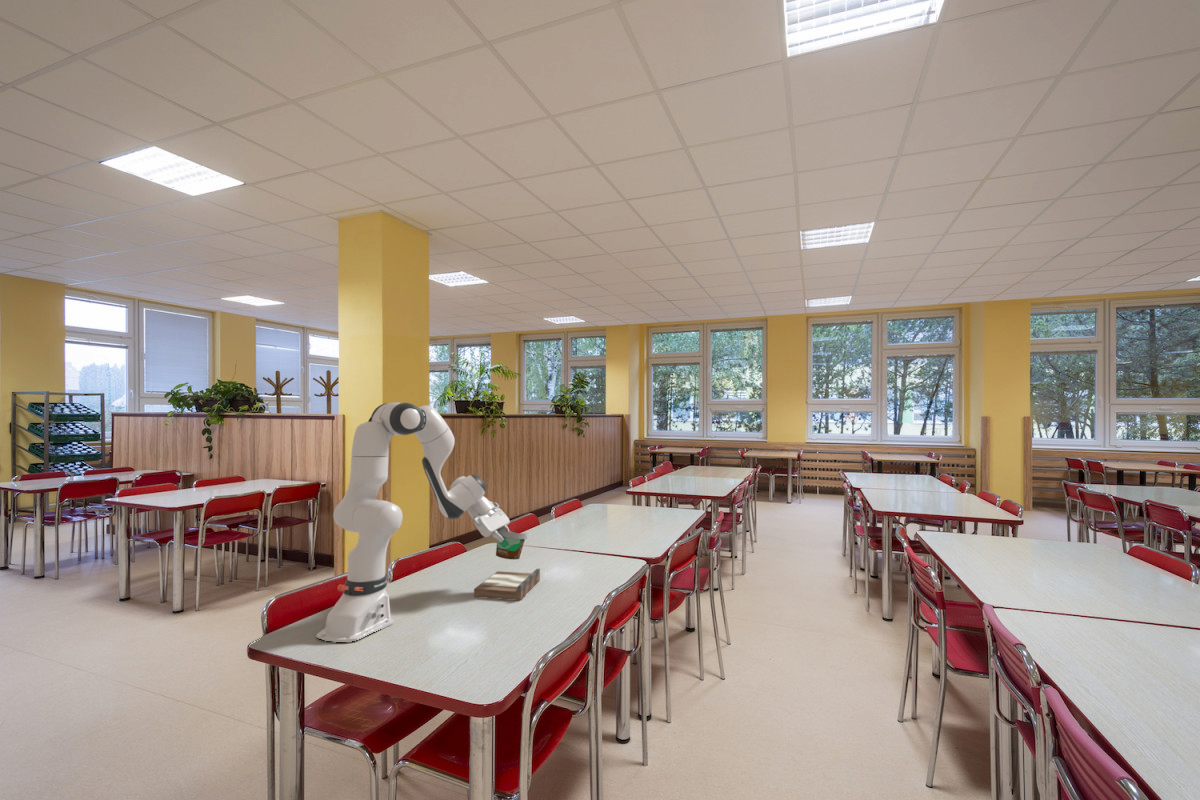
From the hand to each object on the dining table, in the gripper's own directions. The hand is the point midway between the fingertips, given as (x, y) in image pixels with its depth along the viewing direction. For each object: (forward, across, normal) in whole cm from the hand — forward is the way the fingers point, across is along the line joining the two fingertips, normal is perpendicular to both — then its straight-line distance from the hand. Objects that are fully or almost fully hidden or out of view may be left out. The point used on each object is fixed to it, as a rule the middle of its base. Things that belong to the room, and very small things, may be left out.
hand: (506, 538), depth 194 cm
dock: (+14, 0, +13) cm, 19 cm away
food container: (+5, -1, +5) cm, 7 cm away
